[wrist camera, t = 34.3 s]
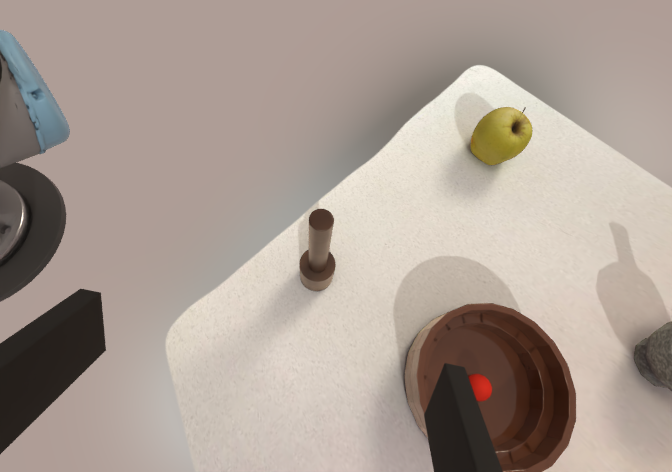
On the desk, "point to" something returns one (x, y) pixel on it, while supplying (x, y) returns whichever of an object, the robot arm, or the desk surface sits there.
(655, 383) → the mortar and pestle
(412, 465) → the desk surface
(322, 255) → the brown pestle
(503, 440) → the bowl
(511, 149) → the apple
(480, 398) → the red ball
